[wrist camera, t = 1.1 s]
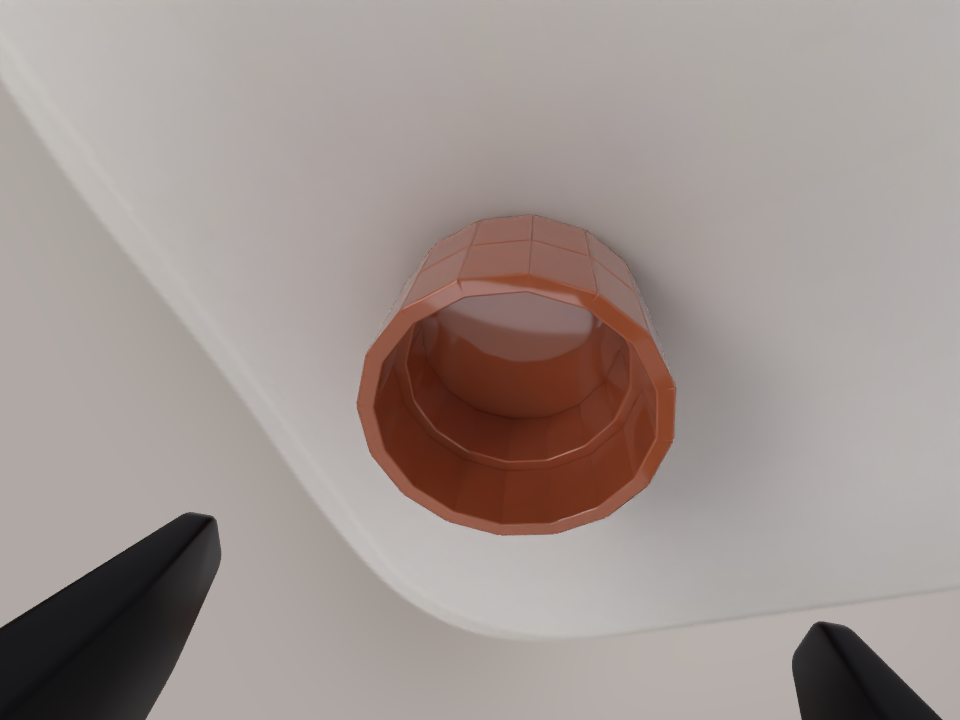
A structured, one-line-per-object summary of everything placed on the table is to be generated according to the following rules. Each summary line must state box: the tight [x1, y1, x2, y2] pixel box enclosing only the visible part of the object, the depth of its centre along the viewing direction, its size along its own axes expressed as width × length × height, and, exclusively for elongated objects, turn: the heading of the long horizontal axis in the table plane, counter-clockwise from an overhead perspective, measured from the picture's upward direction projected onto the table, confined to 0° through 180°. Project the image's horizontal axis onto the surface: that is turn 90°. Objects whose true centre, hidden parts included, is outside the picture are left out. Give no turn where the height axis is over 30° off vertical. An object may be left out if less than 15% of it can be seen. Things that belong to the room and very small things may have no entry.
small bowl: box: [357, 215, 676, 536], centre depth 14 cm, size 7×7×4 cm
